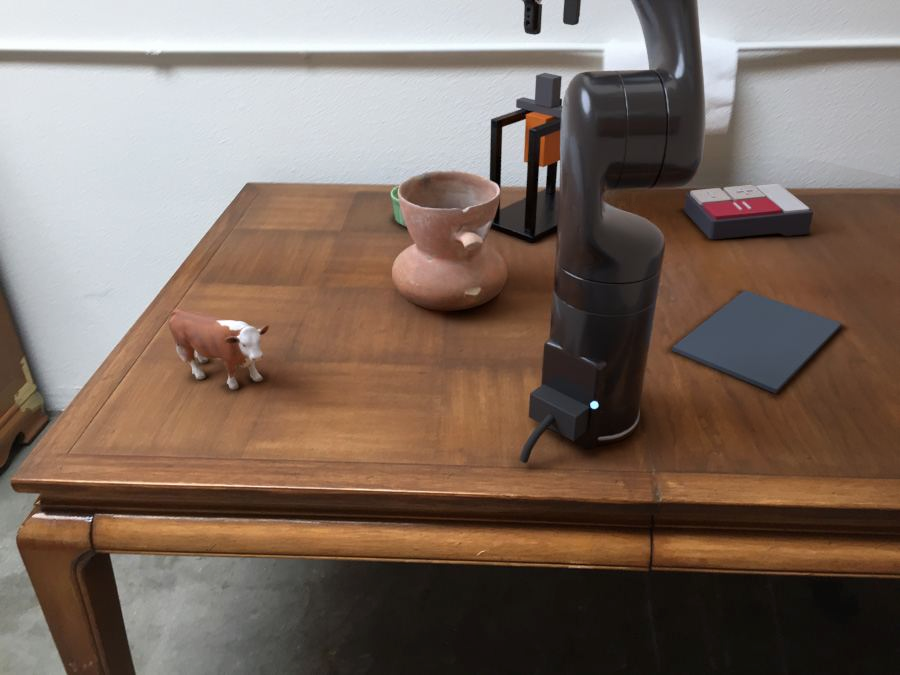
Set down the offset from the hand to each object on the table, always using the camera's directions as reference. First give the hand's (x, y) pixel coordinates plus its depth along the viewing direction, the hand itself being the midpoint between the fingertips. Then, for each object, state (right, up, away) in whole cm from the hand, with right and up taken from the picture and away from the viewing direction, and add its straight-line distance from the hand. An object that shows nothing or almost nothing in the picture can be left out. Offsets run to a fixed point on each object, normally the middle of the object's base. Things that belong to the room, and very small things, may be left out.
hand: (551, 28), depth 104 cm
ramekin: (-18, -24, +14) cm, 33 cm away
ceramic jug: (-14, -36, -5) cm, 39 cm away
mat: (+22, -42, -15) cm, 50 cm away
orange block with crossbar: (0, -15, +10) cm, 18 cm away
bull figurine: (-38, -46, -21) cm, 63 cm away
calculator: (+31, -24, +12) cm, 41 cm away
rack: (0, -23, +15) cm, 27 cm away
